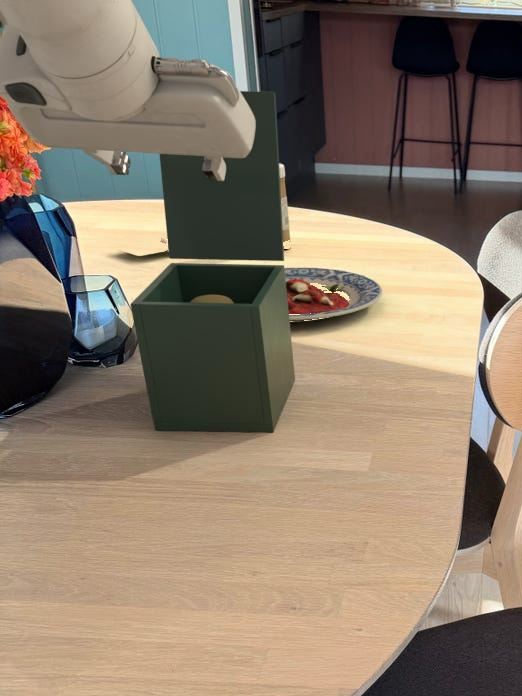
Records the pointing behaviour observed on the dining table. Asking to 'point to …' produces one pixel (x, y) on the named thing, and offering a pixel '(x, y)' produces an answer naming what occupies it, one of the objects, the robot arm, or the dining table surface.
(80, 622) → the dining table surface
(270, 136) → the lid
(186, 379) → the box
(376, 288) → the ceramic plate
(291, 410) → the dining table surface
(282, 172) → the sprinkles bottle
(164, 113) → the robot arm
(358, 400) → the dining table surface
